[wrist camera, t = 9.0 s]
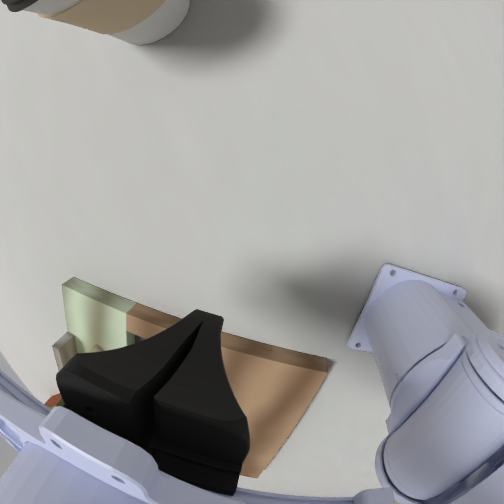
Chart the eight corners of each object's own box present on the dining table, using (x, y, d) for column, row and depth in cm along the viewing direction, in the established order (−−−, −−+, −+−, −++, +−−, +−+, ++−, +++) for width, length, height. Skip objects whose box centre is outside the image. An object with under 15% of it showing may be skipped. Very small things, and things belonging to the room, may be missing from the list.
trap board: (326, 358, 23) (330, 397, 19) (258, 467, 32) (254, 494, 27) (73, 276, 25) (42, 297, 20) (95, 410, 33) (81, 431, 28)
